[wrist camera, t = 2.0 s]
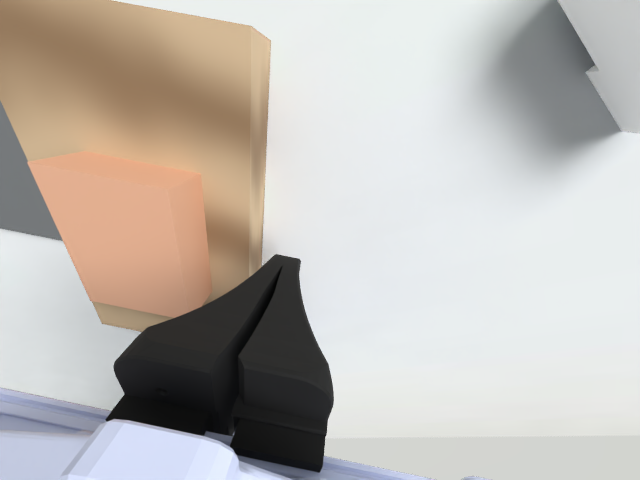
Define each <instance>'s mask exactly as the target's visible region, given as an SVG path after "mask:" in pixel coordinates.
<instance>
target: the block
mask: <svg viewBox="0 0 640 480" xmlns="http://www.w3.org/2000/svg"><path fill="white" fill-rule="evenodd" d="M27 163H28V166H29V168H30V170H31V172H32V174H33V176H34V179H35V181H36V183H37V185H38V187H39V189H40V192H41V194H42V196H43V198H44V200H45V203H46V205H47V207H48V209H49V211H50V213H51V216H52V218H53V220H54V222H55V224H56V227H57V229H58V231H59V233H60V235H61V237H62V240H63V242H64V244H65V246H66V248H67V251H68V253H69V255H70V257H71V259H72V261H73V264H74V266H75V268H76V270H77V272H78V275H79V277H80V279H81V281H82V283H83V285H84V288H85V290H86V292H87V294H88V296H89V298H90V301H94V302H99V303H104V304H109V305H114V306H118V307H123V308H128V309H133V310H138V311H143V312H148V313H153V314H158V315H163V316H168V317H172V318H176V317H178V316H181V315H183V314H186V313H188V312H191V311H193V310H195V309H197V308H200V307H201V306H202V305H203V304H204V302H205V301H206V300H207V298H208V297H209V295H210V294H211V293H212V284H211V274H210V263H209V253H208V242H207V232H206V222H205V211H204V201H203V190H202V180H201V173H195V172H190V171H185V170H180V169H175V168H170V167H164V166H159V165H154V164H149V163H144V162H139V161H133V160H128V159H123V158H118V157H113V156H108V155H102V154H97V153H92V152H87V151H82V152H77V153H72V154H66V155H61V156H56V157H51V158H45V159H40V160H35V161H29V162H27Z"/></svg>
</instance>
